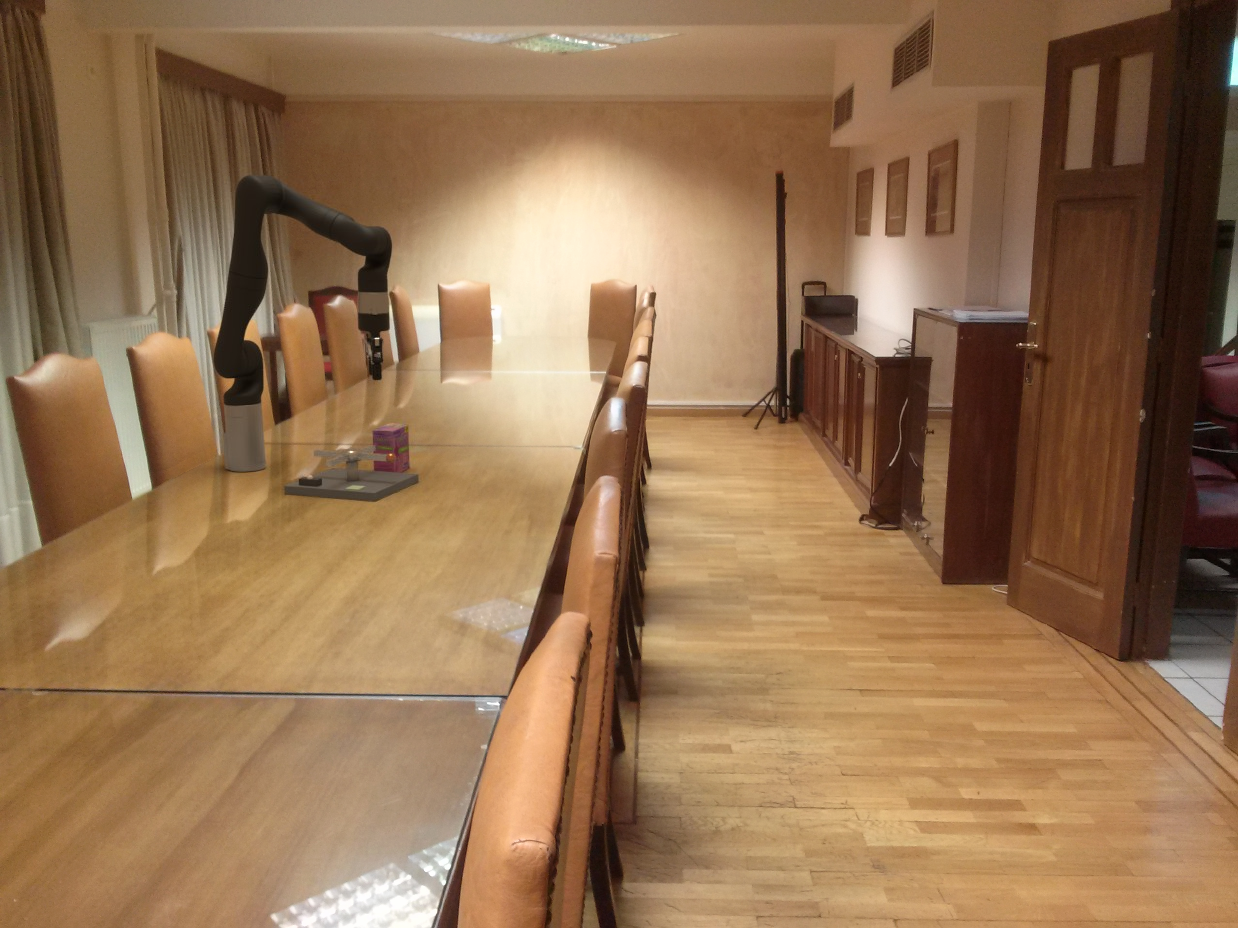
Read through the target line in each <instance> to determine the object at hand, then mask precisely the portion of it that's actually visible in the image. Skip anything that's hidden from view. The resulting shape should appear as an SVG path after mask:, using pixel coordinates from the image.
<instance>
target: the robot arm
mask: <svg viewBox="0 0 1238 928" xmlns="http://www.w3.org/2000/svg"><path fill="white" fill-rule="evenodd" d="M237 183H238V184H237V185H236V188H235V195H234V225H233V226H234V227H233V238H232V246H231V254H230V261H229V267H228V274H227V282H226V292H225V299H224V304H223V311H222V316H221V317H222V318H221V322H220V326H219V330H218V334H217V337H216V343H215V346H214V351H213V365H214V366H213V367H214V368H215V372H216V373H217V374H218V375H219V376H220V377H221V378H223V379H233V380H234V381H233V383H232V385H231V387H230V388H229V389H227V390H226V391H225V392H224V393H223V396H222V397H223V398H222V399H223V408H224V410H223V411H224V412H223V413H224V423H225V424H224V425H225V432H223V434H222V440H223V441H222V442H223V455H224V457H223V458H224V466H225V470H229V471H230V472H231V471H232V472H241V473H242V472H244V473H246V472H254V471H255V472H256V471H261V470H264V469H265V468H267V462H266V448H265V447H266V446H265V434H264V421H263V420H264V419H263V408H262V407H263V405H262V395H263V393H264V388H265V387H264V385H265V383H264V382H265V380H264V378H265V376H264V375H265V374H264V358H263V353H262V350H261V349H260V347H259V345H258V344H257V343H256V342H255V341H253V340H250V339H245V337H246V331H247V329H248V326H249V323H250V322H251V320H252V319H253V317H254V316H255V314H256V312H257V311H258V309H259V307H260V306H261V304H262V302H263V300H264V298H265V296H266V295H265V294H266V290H267V286H268V285H267V284H268V277H269V263H268V260H267V257H266V253H265V250H264V247H263V243H262V228H263V221H264V217H265V215H271V214H274V215H275V214H276V215H280V216H281V215H282V216H284V217H289V218H291V219H294V220H296V221H298V222H300V223H301V224H303V225H304V226H305V227H307V228H308V229H309V230H310V231H312V232H313V233H315V234H318V235H319V236H322V237H324V238H326V239H328V240H329V241H333V242H335V243H338V244H340V245H341V246H343V247H344V248H346V249H347V250H349V251H350V252H352V253H354V254H356V255H359V256H362V257H365V261H364V265H363V266H362V267H360V268H359V269H358V271H357V301H356V303H357V304H356V305H357V329H358V330H359V331H360V332H366V334H365V335H366V336H365V339H364V342H365V351H366V357H367V360H368V374H369V375H370V376H371V378H372V380H373V381H381V380H382V378H383V374H382V373H383V372H382V371H383V369H382V367H383V366H382V365H383V363H384V357H383V356H384V338H383V337H381V333H382V332H388V331H390V328H391V325H390V321H391V320H390V297H389V293H388V291H389V288H388V286H389V285H388V282H389V280H388V272H389V268H390V264H391V258H392V253H393V242H392V237H391V235H390V233H389V232H388V230H387V229H386V228H384V227H382V226H379V225H377V226H376V225H374V226H373V225H371V226H370V225H369V226H367V225H363V224H360V223H358V222H356V221H355V219H354V218H353V217H352V216H350V215H348V214H346V213H343V212H341V211H339V210H336V209H334V208H332V207H329V206H327V205H324V204H322V203H319V202H317V201H315V200H313V199H311V198H309V197H307V196H306V195H303V194H301V193H300V192H298V191H296V190H295V189H293V188H292V187H290V186H289V185H287V184H286V183H284V182H283V181H281V180H280V179H278V178H276V177H274V176H271V175H264V174H263V175H261V174H248V175H244V176H243V177H241V179H240V180H239V181H238V182H237Z"/></svg>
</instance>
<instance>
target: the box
mask: <svg viewBox="0 0 1238 928" xmlns="http://www.w3.org/2000/svg"><path fill="white" fill-rule="evenodd" d="M409 432H410V431H409V423H396V422H395V423H392V422H391V423H386V424H385V425H382V426H379V427H378V428H375V429H373V430H372V445H375V447H376V451H373V452H372V453H375V454H389V453H393V454H395V456H396V461H395V462H394V463H388V462H387V461H374V460H372V461H373V471H383V472H397V473H404V472H405V471H407V470H408V469H410V468H411V465H410V437H409V435H410V434H409Z"/></svg>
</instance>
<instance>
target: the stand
mask: <svg viewBox="0 0 1238 928" xmlns="http://www.w3.org/2000/svg"><path fill="white" fill-rule="evenodd" d="M419 482H420V481H419V473H410V472H409V473H408V472H401V473H397V472H383V471H374V470H367V469H359V461H358V462H345V468H342V467H340V468H339V467H331V468H328V469H326V470H324V471H321V472H318V473H315V474H313V475H312V474H308V475H307V476H302V477H300V478H298V480H296V481H294V482H291V483H289V484H286V485H284V495H291V496H292V495H293V496H303V497H304V496H305V497H313V498H314V497H316V498H317V497H318V498H327V499H340V500H351V501H352V500H355V501H366V502H377V501H379V500H382V499H384V498H386V497H388V496H391V495H393V494H395V493H397V492H400V491H402V490H404V489H406V488H408V487H411V486H413V485H415V484H417V483H419Z"/></svg>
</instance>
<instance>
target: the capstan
mask: <svg viewBox="0 0 1238 928" xmlns="http://www.w3.org/2000/svg"><path fill="white" fill-rule="evenodd" d="M373 451H376V447H375V445H373V444H369V445H366V446H363V447H360V448H347V449H343V450H329V449H328V450H327V449H314V450H313V457H319V458H329V459H326V460H325V467H327V468H328V467H331V468H333V467H335V466H338V465H339V464H342V463H343V464H344V463H346V462H358V463H359V462H361V461H362V460H363V461H373V460H374V461H387V462H388V463H394V462H395V461H396V456H395V454H393V453H389V454H375V453H373ZM374 461H373V462H374Z"/></svg>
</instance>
